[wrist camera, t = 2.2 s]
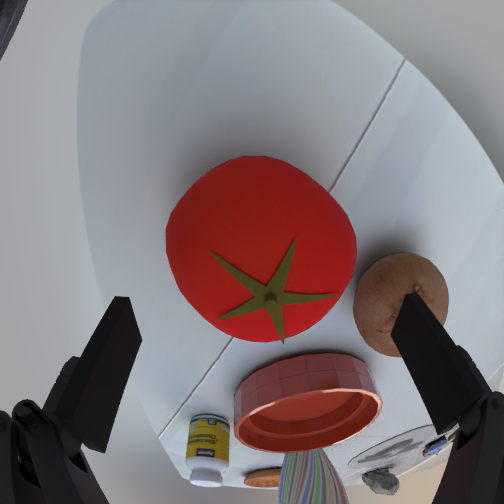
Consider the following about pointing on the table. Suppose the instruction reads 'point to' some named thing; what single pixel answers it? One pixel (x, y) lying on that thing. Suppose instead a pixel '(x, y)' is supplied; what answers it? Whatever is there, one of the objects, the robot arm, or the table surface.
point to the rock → (381, 482)
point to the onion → (396, 296)
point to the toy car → (434, 447)
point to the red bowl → (305, 403)
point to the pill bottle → (208, 450)
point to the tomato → (260, 249)
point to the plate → (393, 447)
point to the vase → (310, 480)
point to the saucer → (264, 478)
